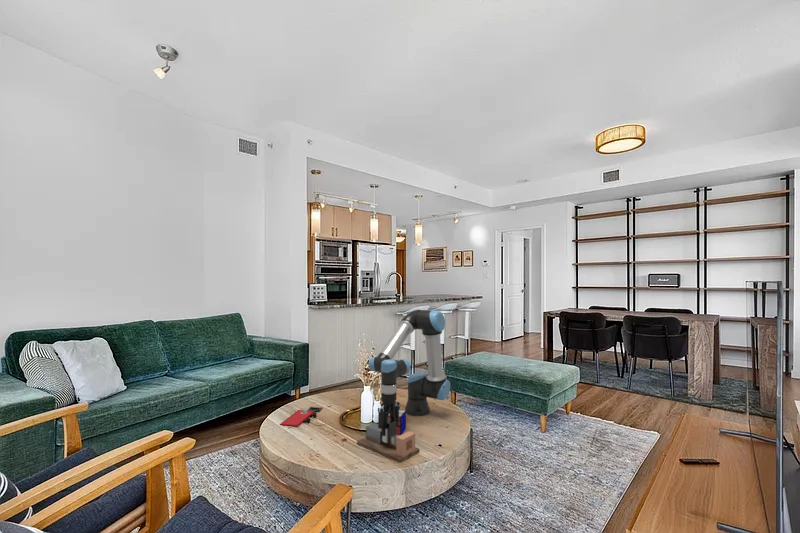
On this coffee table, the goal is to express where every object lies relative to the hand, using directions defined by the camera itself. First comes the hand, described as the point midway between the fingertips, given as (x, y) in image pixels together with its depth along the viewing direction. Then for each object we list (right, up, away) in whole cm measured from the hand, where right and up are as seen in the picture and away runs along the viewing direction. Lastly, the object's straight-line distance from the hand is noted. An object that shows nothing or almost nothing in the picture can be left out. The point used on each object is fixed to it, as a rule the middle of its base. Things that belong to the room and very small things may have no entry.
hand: (388, 439), depth 188 cm
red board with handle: (-52, -6, +42) cm, 67 cm away
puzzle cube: (+3, -5, +21) cm, 22 cm away
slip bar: (-3, -1, +2) cm, 4 cm away
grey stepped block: (-6, -3, +6) cm, 9 cm away
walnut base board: (-1, -4, +1) cm, 4 cm away
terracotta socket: (+8, -3, -7) cm, 11 cm away
